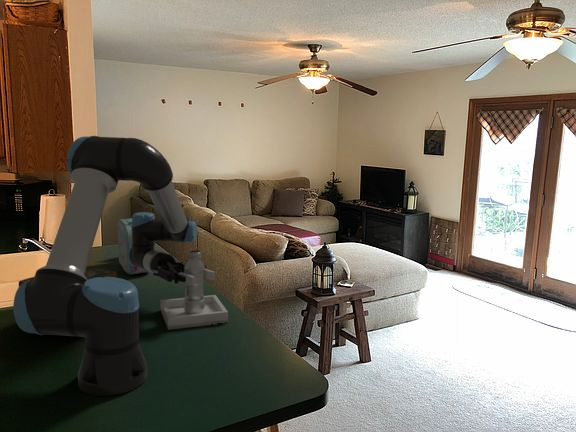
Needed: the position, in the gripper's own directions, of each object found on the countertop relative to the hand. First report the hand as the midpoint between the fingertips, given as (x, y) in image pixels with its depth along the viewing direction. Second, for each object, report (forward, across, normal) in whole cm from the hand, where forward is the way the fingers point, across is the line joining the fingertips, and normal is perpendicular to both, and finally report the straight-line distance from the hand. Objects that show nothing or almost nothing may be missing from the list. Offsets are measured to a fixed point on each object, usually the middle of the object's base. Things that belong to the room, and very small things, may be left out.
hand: (203, 278), depth 142 cm
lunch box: (-63, -15, -14) cm, 66 cm away
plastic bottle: (-5, 0, -13) cm, 14 cm away
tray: (-5, 0, -14) cm, 14 cm away
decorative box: (-24, +29, -14) cm, 41 cm away
